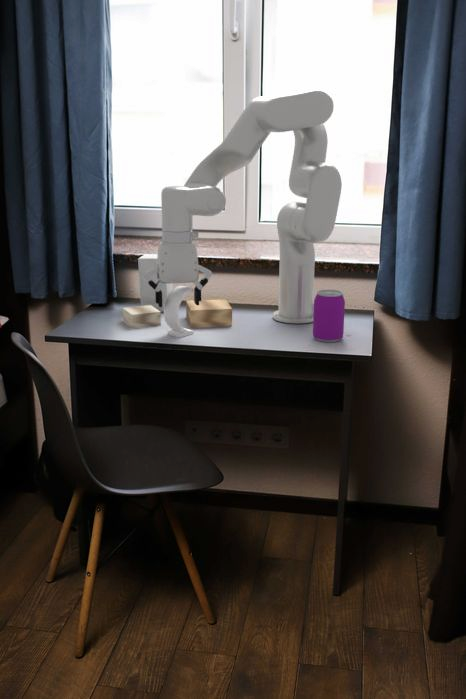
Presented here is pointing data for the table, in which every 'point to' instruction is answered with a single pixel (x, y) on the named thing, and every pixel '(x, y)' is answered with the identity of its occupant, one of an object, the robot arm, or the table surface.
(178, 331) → the white crescent piece
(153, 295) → the skincare box
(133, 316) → the birch block
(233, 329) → the table surface
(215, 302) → the oak block
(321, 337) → the beverage can
